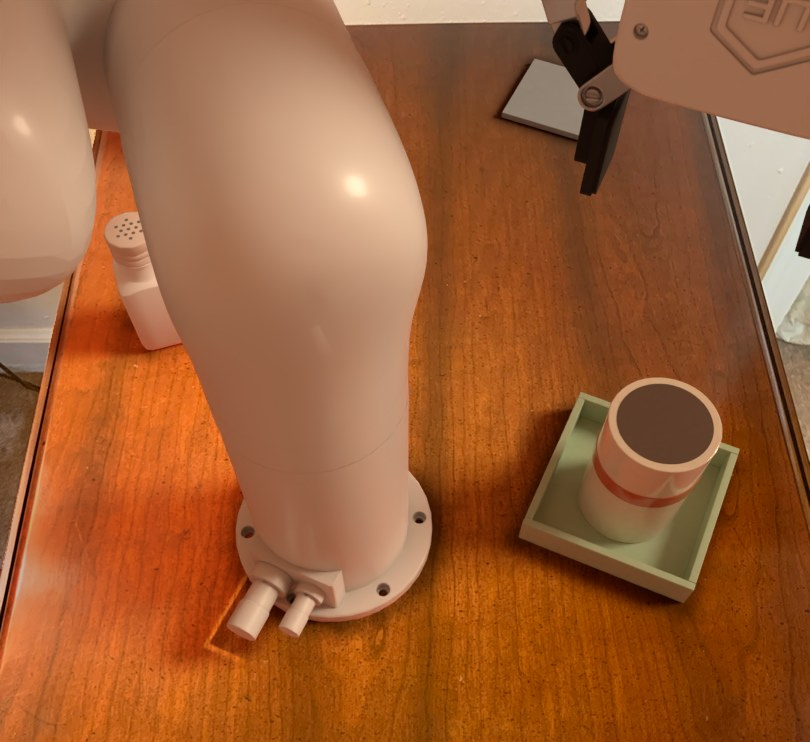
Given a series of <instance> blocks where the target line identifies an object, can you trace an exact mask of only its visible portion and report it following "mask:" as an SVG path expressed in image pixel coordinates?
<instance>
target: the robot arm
mask: <svg viewBox="0 0 810 742" xmlns="http://www.w3.org/2000/svg"><path fill="white" fill-rule="evenodd" d="M540 1H541V3H542V4H541V5H542V7H543V11H544V13H545V17H546V20H547V24H548V26H550V27H551V31H552V34H553V37H552V42H551V44H552V45H551V46H552V48H553V51H554V53H555V54H556V56H557V57H558V59H559V60H560V62H561V63H562V66H563V67H565V68H566V69H567V71H568V72H569V74H570V75H571V77H572V79H573V80H574V82H575V83H576V85H577V86H578V88H579V91H578V96H577V98H578V102H579V103H580V105H581V106H582V107H583V108H584V113H583V118H582V122H581V127H580V132H579V137H578V140H576V141H577V142H576V147H575V151H574V157H573V160H574V162H578V163H581V164H583V165H585V167H584V170H583V175H582V180H581V185H580V188H579V195H580V194H581V195H584V196H588V197H592V195H597V193H598V191H599V189H600V187H601V184H602V182H603V180H604V179H605V176H606V173H607V172H608V169H609V167H610V165H611V163H612V160H613V158H614V155H615V152H616V148H617V144H618V141H619V137H620V133H621V128H622V125H623V121H624V117H625V113H626V110H627V105H628V102H629V97H630V95H631V90H632V91H634V92H635V93H637V94H640V95H642V96H644V97H647V98H650V99H653V100H656V101H659V102H663V103H667V104H670V105H674V106H677V107H680V108H683V109H688V110H692V111H696V112H699V113H703V114H707V115H709V116H714V117H718V118H722V119H725V120H730V121H733V122H738V123H741V124H745V125H749V126H753V127H757V128H761V129H764V130H768V131H772V132H775V133H776V132H777V133H779V134H783V135H788V136H792V137H796V138H799V139H800V138H801V139H805V140H808V141H810V0H624V4H623V7H622V10H621V14H620V19H619V23H618V26H617V32H616V34H615V36H614V37H612V38H610V39H609V37H608V36H607V34H606V33H605V31H604V30H603V28H602V26H601V25H600V22H599V21H598V19H597V18H596V16H595V14H594V13H593V11H592V10H591V9H590V7H588V4H587V1H588V0H540ZM90 130H97V131H102V132H103V131H104V132H111V133H118V134H119V136H120V144H121V149H122V156H123V158H124V163H125V166H126V170H127V174H128V177H129V181H130V185H131V189H132V194H133V198H134V202H135V206H136V210H137V212H138V214H139V219H140V223H141V226H142V230H143V234H144V238H145V242H146V246H147V249H148V253H149V256H150V260H151V263H152V267H153V270H154V274H155V277H156V280H157V284H158V287H159V290H160V293H161V296H162V298H163V301H164V304H165V306H166V309H167V312H168V314H169V316H170V319H171V321H172V323H173V325H174V327H175V330H176V332H177V334H178V336H179V338H180V340H181V342H182V343H181V344H182V345H183V348H184V349H185V351H186V353H187V355H188V357H189V359H190V362H191V364H192V367H193V368H194V371H195V374H196V376H197V379H198V381H199V384H200V386H201V389H202V391H203V394H204V397H205V399H206V402H207V405H208V408H209V410H210V412H211V415H212V418H213V421H214V423H215V426H216V427H217V429H218V431H219V434H220V436H221V439H222V442H223V445H224V447H225V451H226V453H227V456H228V458H229V462H230V464H231V466H232V469H233V472H234V475H235V477H236V481H237V483H238V485H239V488H240V491H241V493H242V495H243V496H242V497H243V499H242V502H241V505H240V507H239V509H238V512H237V518H236V523H235V543H236V549H237V553H238V556H239V557H238V558H239V560H240V563H241V566H242V568H243V570H244V571H245V574H246V576H247V578H248V580H249V581H250V583H251V585H250V586H249V588H248V590H247V592H246V593H245V595H244V596H243V598H241V599H240V600H239V602H238V603H237V605H236V607H235V609H234V610H233V612H232V614H231V616H230V617H229V619H228V621H227V623H225V626H226V628H227V629H228V630H229V631H231V632H232V633H234V634H235V635H237V637H240V638H242V639H244V640H247V641H250V642H256V640H257V638H258V636H259V634H260V633H261V631H262V629H263V627H264V626H265V624H266V622H267V620H268V618H269V617H270V612H271V610H272V608H273V606H275V607H277V608H278V609H280V610H281V611H283V612H285V614H284V616H283V617H282V619H281V621H280V623H279V625H278V627H277V628H278V629H279V631H281V632H282V633H283V634H285V635H287V636H289V637H291V638H295V639H299V638H300V636H301V634H302V632H303V630H304V628H305V626H306V625H307V623H308V621H309V620H310V621H313V622H319V623H343V622H348V621H353V620H359V619H362V618H365V617H368V616H370V615H373V614H375V613H378V612H380V611H381V610H384V609H386V608H387V607H388V606H390V605H392V604H394V603H395V602H396V601H397V600H398V599H400V598H401V597H402V596H403V595H404V594H405V593H407V591H409V590H410V588H411V587H412V586H413V584H414V583H415V582H416V580H417V579H418V578H419V577H420V575H421V573H422V571H423V569H424V567H425V565H426V563H427V561H428V557H429V554H430V549H431V546H432V536H433V521H432V511H431V508H430V504H429V501H428V498H427V495H426V494H425V492H424V489H423V488H422V486H421V484H420V482H419V481H418V480H417V479H416V477H415V476H414V475H413V474H412V473H411V472H410V470H409V464H410V463H409V455H410V453H409V452H410V449H409V447H410V445H409V443H410V442H409V441H410V439H409V437H410V436H409V435H410V432H409V431H410V384H409V365H410V344H411V343H410V341H411V334H412V332H411V331H412V324H413V319H414V314H415V312H416V308H417V304H418V301H419V297H420V294H421V290H422V287H423V282H424V279H425V275H426V268H427V263H428V249H429V247H428V246H429V245H428V228H427V222H426V221H427V220H426V216H425V210H424V204H423V202H422V201H423V200H422V198H421V194H420V189H419V185H418V183H417V180H416V176H415V173H414V170H413V168H412V165H411V161H410V159H409V156H408V154H407V152H406V149H405V147H404V144H403V142H402V139H401V137H400V135H399V132H398V130H397V127H396V126H395V123H394V122H393V119H392V117H391V114H390V112H389V110H388V108H387V106H386V104H385V102H384V100H383V98H382V96H381V93H380V91H379V89H378V87H377V85H376V83H375V81H374V78H373V77H372V74H371V72H370V70H369V68H368V67H367V64H366V63H365V62H364V60H363V58H362V56H361V54H360V52H359V51H358V50H357V47H356V45H355V43H354V41H353V39H352V37H351V35H350V33H349V31H348V28H347V26H346V24H345V22H344V20H343V18H342V16H341V14H340V11H339V9H338V7H337V5H336V2H335V0H0V304H10V303H13V302H14V303H15V302H19V301H23V300H29V299H32V298H35V297H39V296H41V295H44V294H45V293H48V292H50V291H51V290H53V289H55V288H57V286H59V285H61V284H62V283H64V282H65V281H66V280H68V279H69V278H70V277H71V276H72V275H73V274H74V273H75V271H76V269H77V268H78V266H79V265H80V263H81V262H82V261H83V259H84V258H85V256H86V254H87V252H88V250H89V247H90V245H91V243H92V239H93V232H94V226H95V221H96V216H97V205H98V204H97V203H98V202H97V201H98V198H97V197H98V196H97V184H96V182H97V181H96V166H95V159H94V152H93V145H92V138H91V134H90ZM794 252H796V253H797V257H799V258H803V259H807V260H810V203H809V204H808V206H807V208H806V211H805V214H804V218H803V220H802V225H801V228H800V232H799V235H798V238H797V241H796V244H795V248H794ZM417 521H421V522H422V523H421V522H420V523H419V522H418V523H417ZM249 536H251V537H249ZM382 592H385V593H386V595H380V593H382Z"/></svg>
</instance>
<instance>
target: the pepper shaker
mask: <svg viewBox="0 0 810 742" xmlns="http://www.w3.org/2000/svg"><path fill="white" fill-rule="evenodd" d="M103 237H104V240H105V242H106V244H107V247H108V249H109V252H110V254H111V256H112V258H113V259H112V261H111V264H112V270H113V275H114V279H115V284H116V288H117V291H118V294H119V297H120V299H121V302H122V304H123V305H124V308H125V310H126V312H127V314H128V317H129V319H130V321H131V323H132V325H133V328H134V331H135V333H136V335H137V337H138V339H139V341H140V343H141V345H142V346H143V348H145V349H146V350H147V351H155V350H159V349H163V348H167V347H171V346H176V345H179V344H183V343H182V342H181V340H180V338H179V336H178V334H177V332H176V330H175V327H174V325H173V323H172V321H171V319H170V316H169V314H168V312H167V309H166V306H165V304H164V301H163V298H162V296H161V293H160V290H159V287H158V284H157V280H156V277H155V274H154V270H153V267H152V263H151V260H150V256H149V253H148V249H147V246H146V242H145V238H144V234H143V230H142V226H141V223H140V219H139V214H138V211H127V212H126V211H125V212H122V213H120V214H117V215H115V216H113V217H111V218H110V220H109V221H108V222H107V223H106V224H105V226H104V231H103Z"/></svg>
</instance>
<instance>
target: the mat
mask: <svg viewBox="0 0 810 742" xmlns="http://www.w3.org/2000/svg"><path fill="white" fill-rule="evenodd" d="M578 91H579V88H578V86H577V85H576V83H575V82H574V80H573V79H572V77H571V75H570V74H569V72H568V71H567V69H566V68H565V66H564V65H559V64H555V63H552V62H548V61H545V60H542V59H538V58H534V59H533V60H532V62H531V64H530V65H529V66H528V69H527V70H526V71H525V73H524V74H523V77H522V78H521V80H520V82H519V84H518V85H517V87H516V88H515V90H514V92H513V94H512V95H511V97H510V98H509V100H508V102H507V103H506V105H505V107H504V109H503V110H502V112H501V118H503V119H506V120H509V121H511V122H516V123H520V124H522V125H525V126H529V127H533V128H535V129H540V130H543V131H546V132H549V133H552V134H555V135H559V136H562V137H565V138H569V139H573V140H576V141H578V137H579V132H580V127H581V122H582V118H583V113H584V108H583V107H582V106H581V105H580V103H579V102H578V98H577V96H578Z"/></svg>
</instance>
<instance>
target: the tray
mask: <svg viewBox="0 0 810 742" xmlns="http://www.w3.org/2000/svg"><path fill="white" fill-rule="evenodd" d="M611 402H612V401H611ZM611 402H610V401H608V400H605V399H602V398H599V397H597V396H593V395H591V394H588V393H585V392H584V391H583V392H582V391H580V392H579V394H578V396H577V397H576V401H575V403H574V405H573V407H572V410H571V412H570V414H569V416H568V419H567V421H566V423H565V425H564V428H563V430H562V433H561V435H560V437H559V439H558V441H557V444H556V446H555V448H554V451H553V453H552V454H551V457H550V459H549V462H548V464H547V466H546V469H545V471H544V473H543V475H542V477H541V480H540V482H539V485H538V487H537V489H536V491H535V493H534V496H533V498H532V500H531V502H530V505H529V507H528V509H527V512H526V514H525V516H524V518H523V521H522V523H521V527H520V530H519V532H518V533H519V534H518V538H519V539H521V540H524V541H526V542H529V543H532V544H534V545H536V546H539V547H541V548H544V549H546V550H549V551H551V552H554V553H557V554H559V555H562V556H564V557H567V558H569V559H572V560H574V561H577V562H579V563H581V564H584V565H587V566H589V567H592V568H594V569H597V570H599V571H601V572H604V573H607V574H609V575H612V576H614V577H617V578H619V579H622V580H625V581H627V582H629V583H632V584H634V585H636V586H639V587H642V588H644V589H646V590H650V591H652V592H654V593H656V594H659V595H662V596H664V597H667V598H668V599H671V600H673V601H677V602H679V603H681V604H682V603H683V604H684V603H685V602H686V601H687V599H688V598H690V596H691V595H692V593H693V592H695V591H694V590H695V589H696V586H697V582H698V579H699V576H700V573H701V570H702V566H703V563H704V560H705V558H706V554H707V553H708V548H709V545H710V543H711V539H712V536H713V534H714V533H713V532H714V529H715V527H716V524H717V520H718V517H719V515H720V511H721V509H722V506H723V502H724V499H725V496H726V493H727V490H728V487H729V484H730V480H731V478H732V475H733V472H734V468H735V466H736V463H737V459H738V456H739V453H740V451H741V449H740V448H738V447H736V446H733V445H731V444H727V443H725V442H722V441H721V444H720V446H719V449H718V450H717V452H716V454H715V455H714V457H713V458H712V460H711V461H710V463H709V464H708V466H707V467H706V469H705V471H704V472H703V475H702V477H701V478H700V480H699V482H698V483H697V485H696V486H695V488H694V489H693V491H692V492H691V493H690V494H689V495H688V497H687V499H686V500H685V502H684V503H683V505H682V506H681V508H680V509H679V511H678V512H677V514H676V516H675V517H674V519H673V520H672V522H671V523H670V525H669V526H668V528H667V529H666V530H665V531H664V532H663V533H662V534H660V535H659V536H657V537H656V538H653V539H651V540H649V541H645V542H640V543H623V542H619V541H615V540H612V539H610V538H607V537H605V536H603V535H602V534H600V533H599V532H597V531H596V530H595V529H594V528H593V527H592V526H591V525H590V524H589V523H588V522H587V521H586V519H585V518H584V516H583V514H582V512H581V510H580V507H579V503H578V489H579V485H580V482H581V479H582V477H583V474H584V471H585V469H586V466H587V464H588V461H589V458H590V456H591V453H592V451H593V447H594V443H595V441H596V438H597V435H598V433H599V431H600V429H601V427H602V425H603V422H604V420H605V417H606V414H607V412H608V409H609V407H610V404H611Z"/></svg>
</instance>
